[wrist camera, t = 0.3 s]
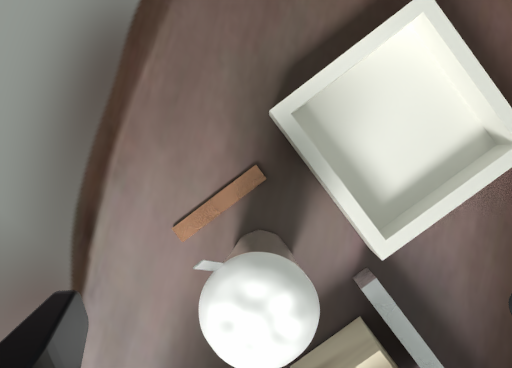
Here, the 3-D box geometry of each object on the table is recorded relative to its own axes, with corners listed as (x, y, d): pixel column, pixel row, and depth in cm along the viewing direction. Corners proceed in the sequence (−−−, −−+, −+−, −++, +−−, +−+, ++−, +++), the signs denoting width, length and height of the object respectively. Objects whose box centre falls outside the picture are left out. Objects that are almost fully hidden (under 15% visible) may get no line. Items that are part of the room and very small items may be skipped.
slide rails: (468, 401, 24) (487, 424, 22) (343, 487, 24) (350, 517, 22) (277, 148, 23) (278, 148, 21) (152, 243, 23) (141, 252, 21)
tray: (509, 147, 23) (539, 147, 20) (369, 249, 23) (382, 260, 21) (408, 7, 22) (426, -11, 20) (268, 114, 23) (269, 110, 20)
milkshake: (257, 190, 23) (251, 220, 13) (316, 262, 23) (355, 345, 13) (196, 240, 23) (145, 306, 13) (255, 311, 24) (247, 427, 14)
